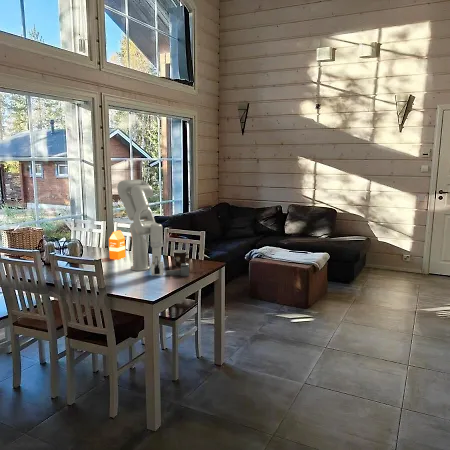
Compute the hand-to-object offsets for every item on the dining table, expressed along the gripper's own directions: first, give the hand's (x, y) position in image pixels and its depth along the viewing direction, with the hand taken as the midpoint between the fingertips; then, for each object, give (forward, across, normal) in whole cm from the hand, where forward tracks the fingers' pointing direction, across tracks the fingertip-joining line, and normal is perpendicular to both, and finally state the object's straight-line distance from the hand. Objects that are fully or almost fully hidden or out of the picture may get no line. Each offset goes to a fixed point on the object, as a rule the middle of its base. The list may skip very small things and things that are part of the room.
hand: (157, 272), depth 253 cm
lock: (+1, 0, 0) cm, 1 cm away
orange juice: (+2, -48, -33) cm, 58 cm away
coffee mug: (+2, -21, +14) cm, 26 cm away
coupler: (+2, 0, +13) cm, 14 cm away
